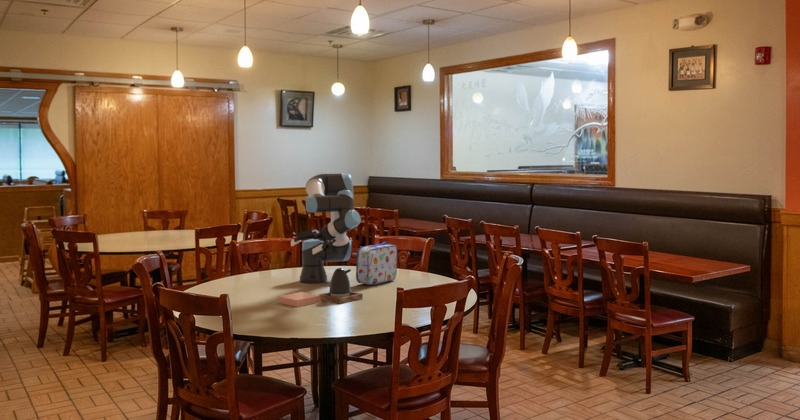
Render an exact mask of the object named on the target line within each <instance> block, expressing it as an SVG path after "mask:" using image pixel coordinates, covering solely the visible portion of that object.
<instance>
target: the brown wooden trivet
mask: <svg viewBox="0 0 800 420" xmlns="http://www.w3.org/2000/svg"><path fill="white" fill-rule="evenodd" d="M317 295H320V299H321V302H322V301H323V302H329V303H333V304H338V305H341V304H345V303H351V302H355V301H358V300H363V298H364V297H363V295H364V294H363V293H360V292H356V291H351V292H350V295H349V296H347V297H342V298H337V297H331V294H330V292H329V291H328V292H324V293H320V294H317Z"/></svg>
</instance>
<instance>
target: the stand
mask: <svg viewBox="0 0 800 420" xmlns="http://www.w3.org/2000/svg"><path fill="white" fill-rule="evenodd" d="M321 302H322V300H321V299H320V295H318V294H313V293H311V292H310V293H309V292H304V291H299V292H294V293H293V292H292V293H289V294H283V295H279V296H277V303H278V304H283V305H288V306H293V307H296V308H298V307H303V306H308V305H313V304H317V303H321Z"/></svg>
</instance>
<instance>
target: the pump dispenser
mask: <svg viewBox="0 0 800 420" xmlns="http://www.w3.org/2000/svg"><path fill="white" fill-rule="evenodd" d="M351 271H352V270H351V269H350V268H349V269H346V270H345V269H344V268H342V267H337V268H336V269H335V270H334V271H333V274H332V276H331V278H330V282H329V289H328V290H329V291H328V292H330V294H331V297H337V298H342V297H347V296H349V295H350V292H352V291H351V290H352V289H351V283H350V279H349V276H348V273H350V272H351Z"/></svg>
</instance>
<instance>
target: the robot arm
mask: <svg viewBox="0 0 800 420" xmlns="http://www.w3.org/2000/svg"><path fill="white" fill-rule="evenodd" d="M353 185H354V184H353V178H352V175H351V174H350V173H344V172H342V173H319V174H317V175H314V176H311V178H309V179H308V180H307V182H306V183H305V192H306V195H307V196H306V198H305V210H306V212H307V213H313V214H314V213H315V214H316V213H330V221H329V222H328V223H327V224H325V225H324V226H322V227H321V229H320V230H317V228H316V227H315V228H314V227H313V228H312V229H308V230H304V231H299V232H297V233H296V237H294V238H293V239H292V240H290V247H294V246H295V245H298V244H299V243H300V242H301V243H302V244H301V245H302V246H301V251H302V252H301V253H302V257H301V258H302V269H301V272H300V276H299V282H300V283H303V284H319V283H325V282H327V281H328V275H327V273H326V269H325V265H324V263H325V262H327V263H328V262H346V261H349V260H350V258H351V254H352V240H351V239H350V238H349V237H348V235H347V232H349V231H350V230H353V229H355V228H356V227H358V225H360V223H361V221H362V218H361V216H360V213H359V212H358V211H357V210H355V199H354V195H355V194H354V192H355V191H354V186H353ZM302 241H303V242H302Z"/></svg>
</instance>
